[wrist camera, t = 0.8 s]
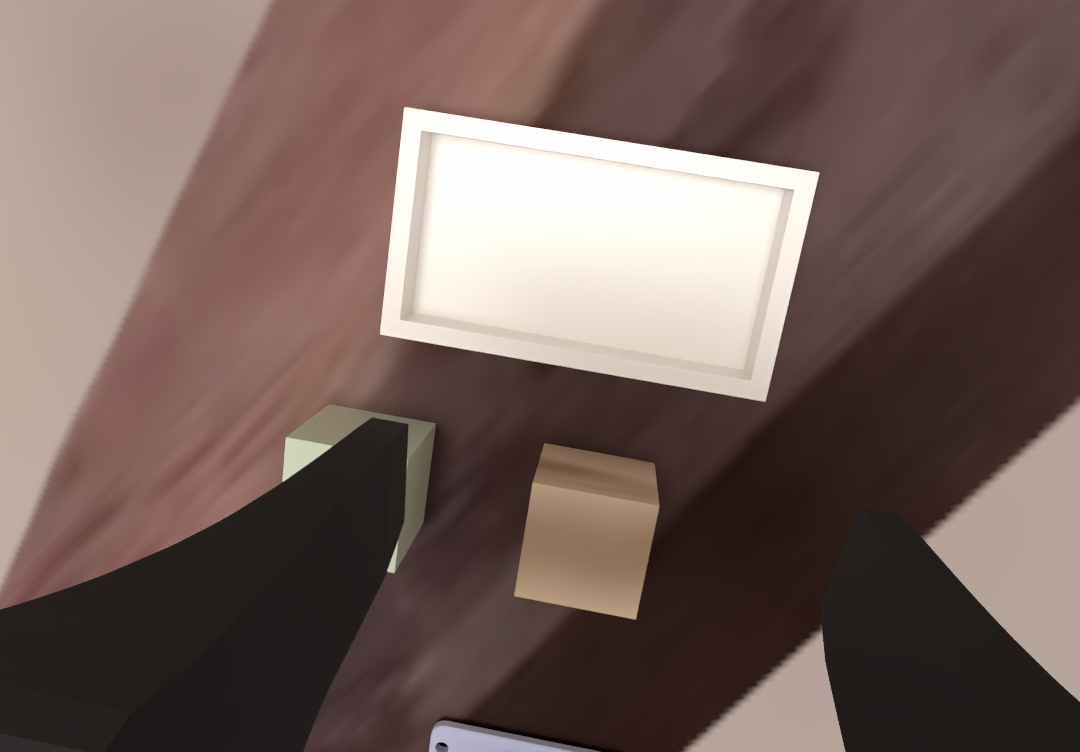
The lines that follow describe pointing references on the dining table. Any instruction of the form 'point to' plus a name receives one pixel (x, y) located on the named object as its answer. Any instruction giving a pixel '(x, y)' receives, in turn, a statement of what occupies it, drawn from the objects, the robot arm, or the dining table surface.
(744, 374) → the tray
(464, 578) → the dining table surface
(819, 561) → the dining table surface
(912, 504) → the dining table surface
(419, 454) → the sage block
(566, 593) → the birch block
